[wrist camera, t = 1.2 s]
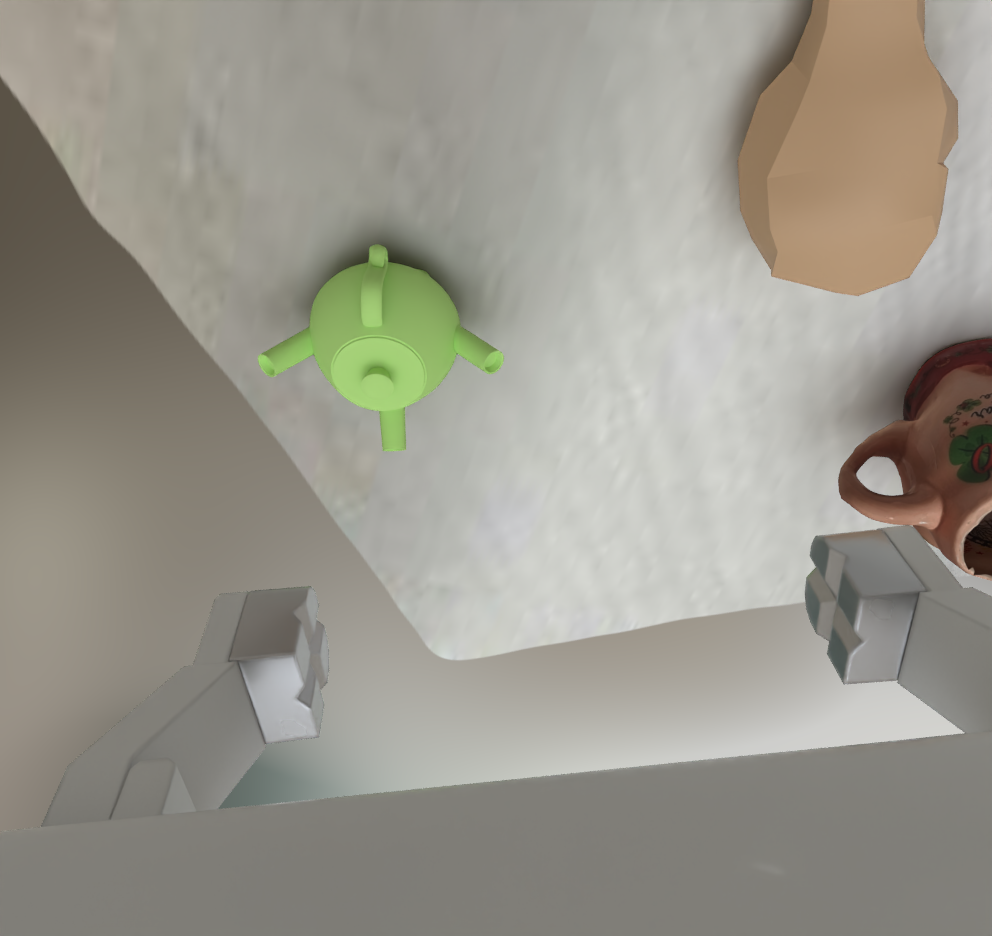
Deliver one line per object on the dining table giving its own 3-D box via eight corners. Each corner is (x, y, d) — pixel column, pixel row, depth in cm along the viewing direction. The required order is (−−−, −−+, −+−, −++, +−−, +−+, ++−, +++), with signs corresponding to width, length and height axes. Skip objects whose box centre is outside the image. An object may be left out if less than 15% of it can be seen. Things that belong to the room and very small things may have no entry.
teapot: (377, 194, 51) (362, 268, 45) (512, 308, 57) (515, 388, 50) (269, 308, 56) (242, 388, 50) (402, 402, 62) (392, 484, 56)
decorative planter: (797, 470, 67) (851, 615, 57) (807, 345, 59) (872, 489, 49) (1069, 435, 65) (1176, 580, 55) (1120, 298, 56) (1256, 440, 46)
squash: (732, 260, 54) (737, 328, 47) (740, -115, 43) (748, -99, 36) (917, 250, 52) (951, 320, 45) (979, -153, 40) (1038, -143, 33)
